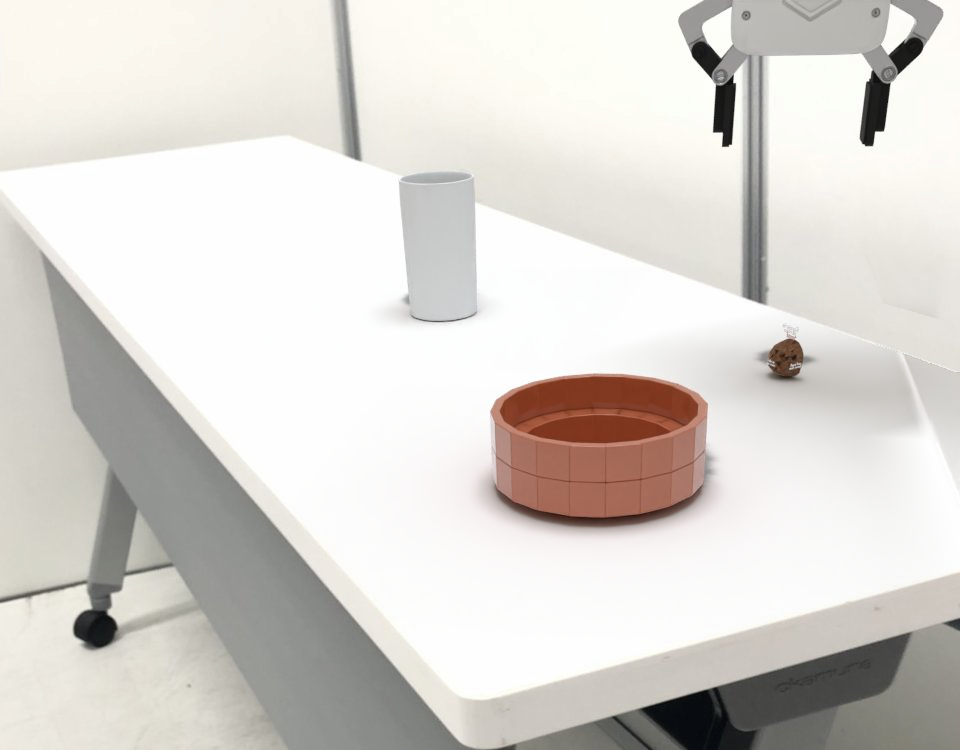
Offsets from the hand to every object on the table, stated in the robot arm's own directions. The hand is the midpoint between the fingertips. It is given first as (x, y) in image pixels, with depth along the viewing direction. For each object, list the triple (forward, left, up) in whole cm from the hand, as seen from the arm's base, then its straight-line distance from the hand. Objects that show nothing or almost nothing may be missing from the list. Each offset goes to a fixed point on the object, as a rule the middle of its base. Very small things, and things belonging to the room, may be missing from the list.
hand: (795, 143), depth 86 cm
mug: (+30, -18, -17) cm, 39 cm away
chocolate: (0, +1, -17) cm, 17 cm away
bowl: (+12, +23, -17) cm, 31 cm away
